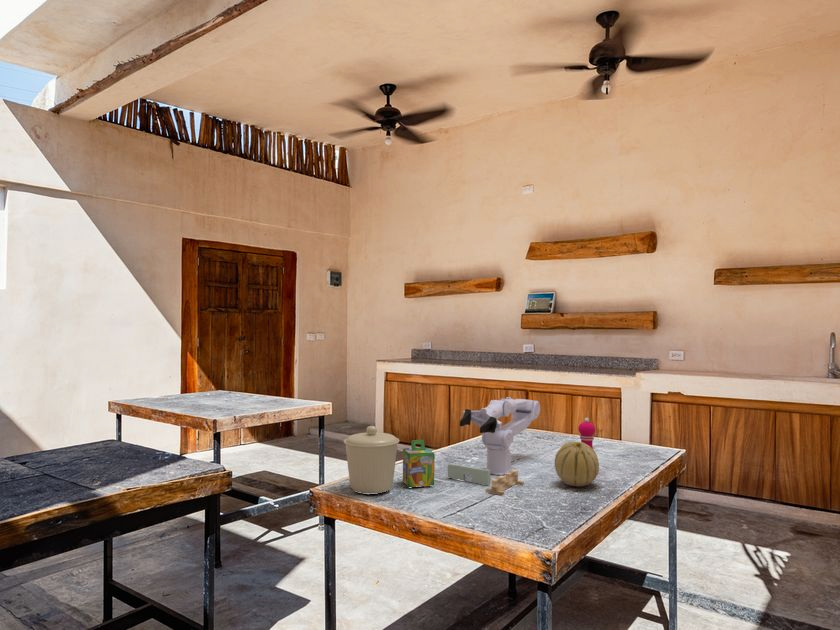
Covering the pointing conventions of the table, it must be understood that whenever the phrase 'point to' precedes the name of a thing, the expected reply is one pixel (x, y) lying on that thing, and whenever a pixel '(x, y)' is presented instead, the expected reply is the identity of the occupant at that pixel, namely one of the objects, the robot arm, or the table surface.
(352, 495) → the table surface
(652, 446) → the table surface
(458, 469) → the pale gray-green board
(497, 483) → the wooden rack
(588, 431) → the pepper mill
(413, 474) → the chalk box
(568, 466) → the cantaloupe
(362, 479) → the canister
